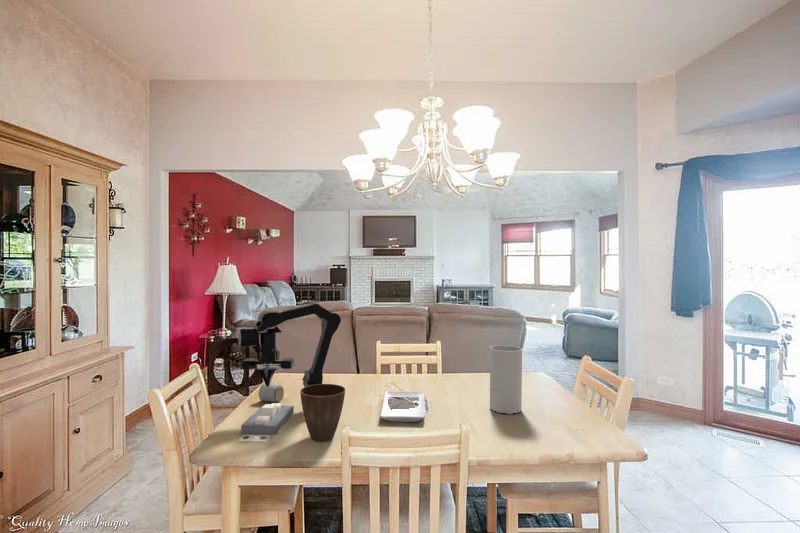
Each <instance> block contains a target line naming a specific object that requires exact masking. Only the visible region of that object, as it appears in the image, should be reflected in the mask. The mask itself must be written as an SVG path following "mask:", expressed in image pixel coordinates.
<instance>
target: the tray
mask: <svg viewBox="0 0 800 533" xmlns="http://www.w3.org/2000/svg"><path fill="white" fill-rule="evenodd" d="M389 397H419V405H418V406H417V407H415V408H409V409H392V410H391V409H390V407H389V405H388V398H389ZM379 417H380V418H381V419H384V420H386V421H388V422H397V423H398V422H399V423H400V422H401V423H403V422H404V423H407V422H408V423H417V422H418V421H420V420H423V419H425V417H426V403H425V394H424V391H419V390H418V391H413V390H412V391H409V390H408V391H407V390H406V391H401V390H400V391H394V390H393V391H389V390H388V391H385V392H384V396H383V401H382V406H381V410H380V415H379Z"/></svg>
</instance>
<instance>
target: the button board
mask: <svg viewBox="0 0 800 533" xmlns="http://www.w3.org/2000/svg"><path fill="white" fill-rule="evenodd" d="M264 405H265V404H263V405H262V406H260V407H259V408H258V409H257V410H256V411H255V412H254V413H253V414H252V415H250V416H249V418H247V419H246V420H245V421H244V422H243V423H242V424H241V425H240V435H254V434H259V435H271V436H277V434H278V433H279V432H280V431H281V430H282V428H283V427H284V426H285V425H286V424H287V422H288V421H289V420H290V419H291V417H292V416H293V415H294V413H295V412H294V409H295V407H294V405H282V409H281V410H280V411H276V416H275V417H274V418H272V417H270V422H269V423H268V424H267V425H254V422H255V419H256V418H257V417H258V416H262V407H263V406H264Z"/></svg>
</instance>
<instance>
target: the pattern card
mask: <svg viewBox="0 0 800 533" xmlns="http://www.w3.org/2000/svg"><path fill="white" fill-rule="evenodd" d="M271 436H272V435H254V434H242V436H241V437H240V438H239V439H238V440H237V441H238V442H245V441H253V443H258V442H259V443H267V441H268V440H269V439H270V437H271Z"/></svg>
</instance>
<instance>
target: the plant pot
mask: <svg viewBox="0 0 800 533" xmlns="http://www.w3.org/2000/svg"><path fill="white" fill-rule="evenodd" d="M299 394H300V402H301V408H302V412H303V413H302V414H303V417H304V421H305V424H306V428H307V431H308V434H309V437H310V439H311V440H312V441H313V442H318V443H319V442H320V443H322V442H328V441H331V440H333V438H334V436H335V434H336V431H337V428H338V425H339V423H340V422H339V421H340V419H341V415H342V412H343V411H342V410H343V406H344V401H345V396H346V388H345V386H342V385H339V384H333V383H322V384H316V385H310V386H306V387H304V386H303V387H301V389H300V390H299Z"/></svg>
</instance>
